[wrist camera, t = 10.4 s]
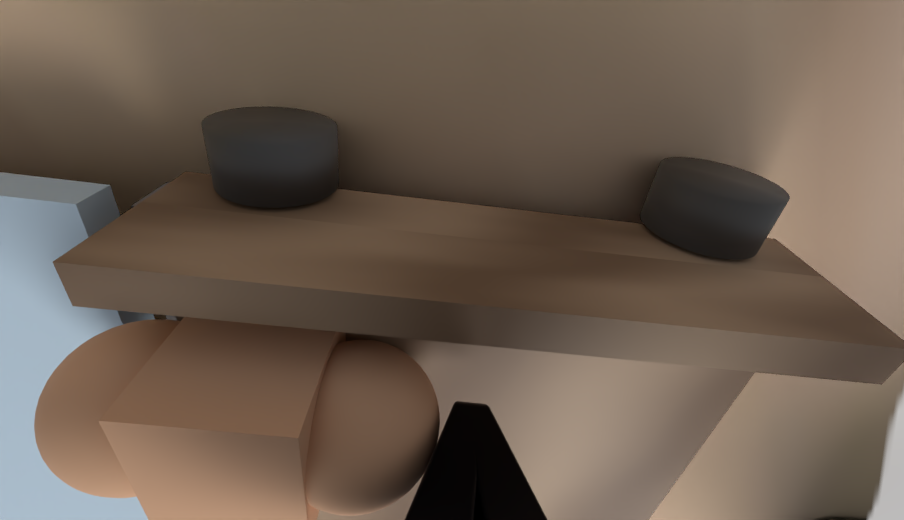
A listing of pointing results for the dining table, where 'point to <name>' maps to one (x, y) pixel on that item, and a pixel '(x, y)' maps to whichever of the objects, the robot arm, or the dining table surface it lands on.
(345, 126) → the dining table surface
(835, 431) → the dining table surface
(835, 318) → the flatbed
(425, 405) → the cube with rounded ends
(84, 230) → the tailgate
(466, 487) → the robot arm
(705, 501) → the dining table surface
